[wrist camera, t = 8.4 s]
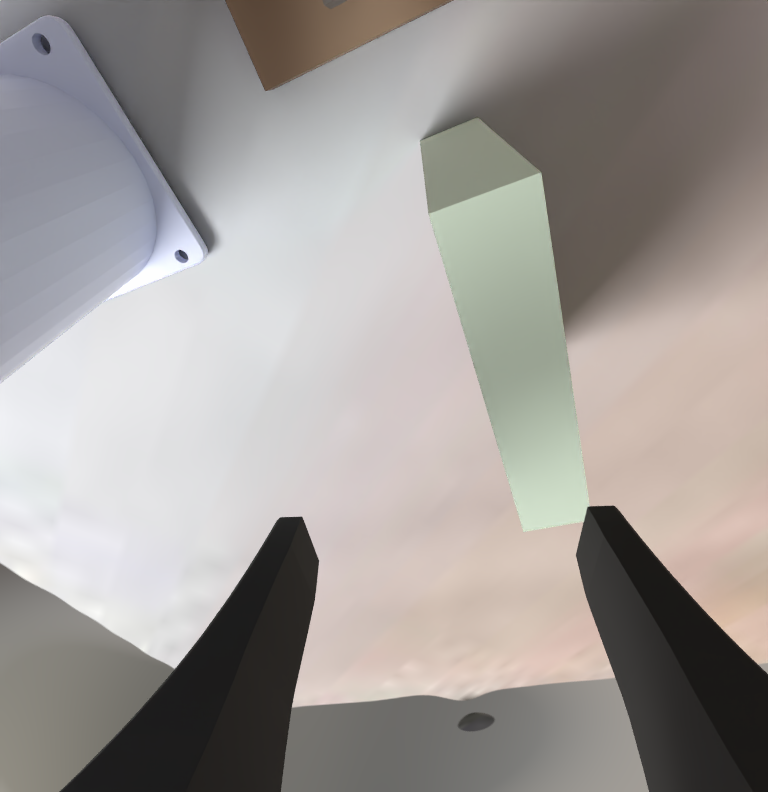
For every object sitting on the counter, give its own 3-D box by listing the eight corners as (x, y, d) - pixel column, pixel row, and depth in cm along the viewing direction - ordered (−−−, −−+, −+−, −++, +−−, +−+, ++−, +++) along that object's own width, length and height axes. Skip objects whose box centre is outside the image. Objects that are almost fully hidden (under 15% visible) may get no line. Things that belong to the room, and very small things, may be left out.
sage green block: (484, 368, 21) (523, 532, 14) (419, 140, 15) (428, 213, 8) (527, 357, 20) (591, 520, 13) (477, 116, 15) (541, 172, 7)
